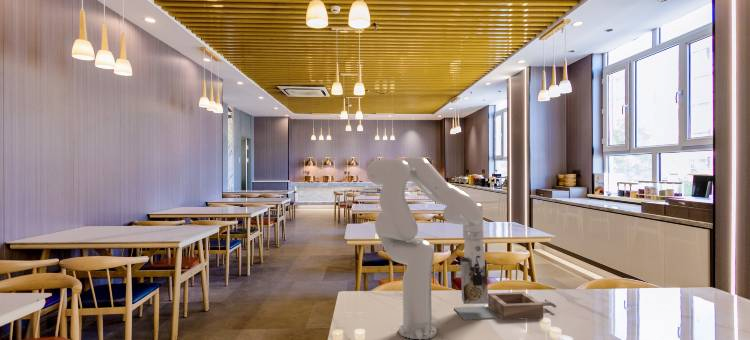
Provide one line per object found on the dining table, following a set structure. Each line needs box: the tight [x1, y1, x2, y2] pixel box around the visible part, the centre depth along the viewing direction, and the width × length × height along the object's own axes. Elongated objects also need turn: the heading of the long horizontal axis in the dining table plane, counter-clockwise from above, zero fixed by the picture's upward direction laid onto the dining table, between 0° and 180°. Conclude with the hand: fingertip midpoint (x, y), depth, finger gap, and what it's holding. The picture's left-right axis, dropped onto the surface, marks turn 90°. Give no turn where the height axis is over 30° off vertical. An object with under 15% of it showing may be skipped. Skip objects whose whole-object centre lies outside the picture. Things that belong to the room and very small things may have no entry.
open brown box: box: [487, 291, 557, 320], centre depth 153 cm, size 15×23×5 cm, turn 96°
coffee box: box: [460, 257, 489, 305], centre depth 151 cm, size 9×6×16 cm
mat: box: [453, 305, 497, 321], centre depth 151 cm, size 12×12×1 cm
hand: (473, 282), depth 151 cm, fingers closed on coffee box, 7 cm apart
